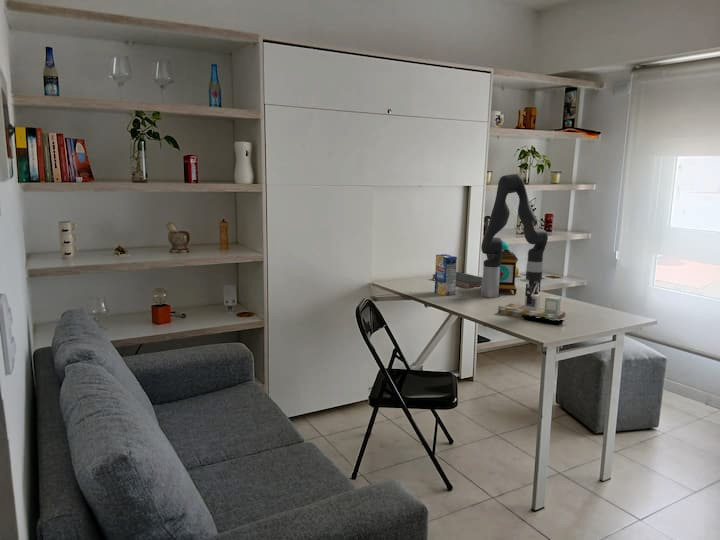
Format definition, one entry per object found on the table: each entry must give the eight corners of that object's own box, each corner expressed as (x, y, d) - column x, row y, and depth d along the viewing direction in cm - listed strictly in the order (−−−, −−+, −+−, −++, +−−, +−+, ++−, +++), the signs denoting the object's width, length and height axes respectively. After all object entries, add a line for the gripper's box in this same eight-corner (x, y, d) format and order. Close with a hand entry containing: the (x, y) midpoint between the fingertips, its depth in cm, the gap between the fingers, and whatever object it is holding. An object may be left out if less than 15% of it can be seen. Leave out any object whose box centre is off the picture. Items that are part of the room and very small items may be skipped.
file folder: (432, 274, 361) (459, 271, 375) (432, 280, 362) (458, 277, 375) (469, 282, 334) (496, 279, 348) (468, 289, 335) (496, 285, 349)
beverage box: (445, 296, 314) (446, 257, 310) (434, 292, 324) (435, 254, 320) (455, 295, 317) (456, 256, 313) (444, 291, 327) (445, 254, 323)
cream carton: (524, 310, 275) (525, 294, 274) (527, 308, 279) (528, 293, 277) (536, 312, 272) (537, 296, 271) (539, 310, 275) (540, 294, 274)
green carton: (544, 313, 269) (545, 297, 268) (547, 312, 273) (548, 296, 271) (556, 315, 266) (558, 299, 265) (559, 314, 269) (560, 297, 268)
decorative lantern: (482, 293, 321) (485, 242, 316) (481, 287, 340) (484, 238, 335) (518, 295, 317) (522, 243, 312) (515, 288, 337) (518, 239, 331)
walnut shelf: (497, 313, 277) (498, 306, 277) (510, 307, 290) (510, 300, 290) (554, 322, 261) (555, 315, 260) (565, 315, 274) (565, 308, 273)
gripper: (536, 273, 264) (534, 306, 267) (546, 269, 275) (544, 301, 278) (521, 271, 268) (519, 304, 271) (531, 267, 280) (529, 298, 282)
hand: (532, 302), depth 275 cm, fingers open, 8 cm apart
